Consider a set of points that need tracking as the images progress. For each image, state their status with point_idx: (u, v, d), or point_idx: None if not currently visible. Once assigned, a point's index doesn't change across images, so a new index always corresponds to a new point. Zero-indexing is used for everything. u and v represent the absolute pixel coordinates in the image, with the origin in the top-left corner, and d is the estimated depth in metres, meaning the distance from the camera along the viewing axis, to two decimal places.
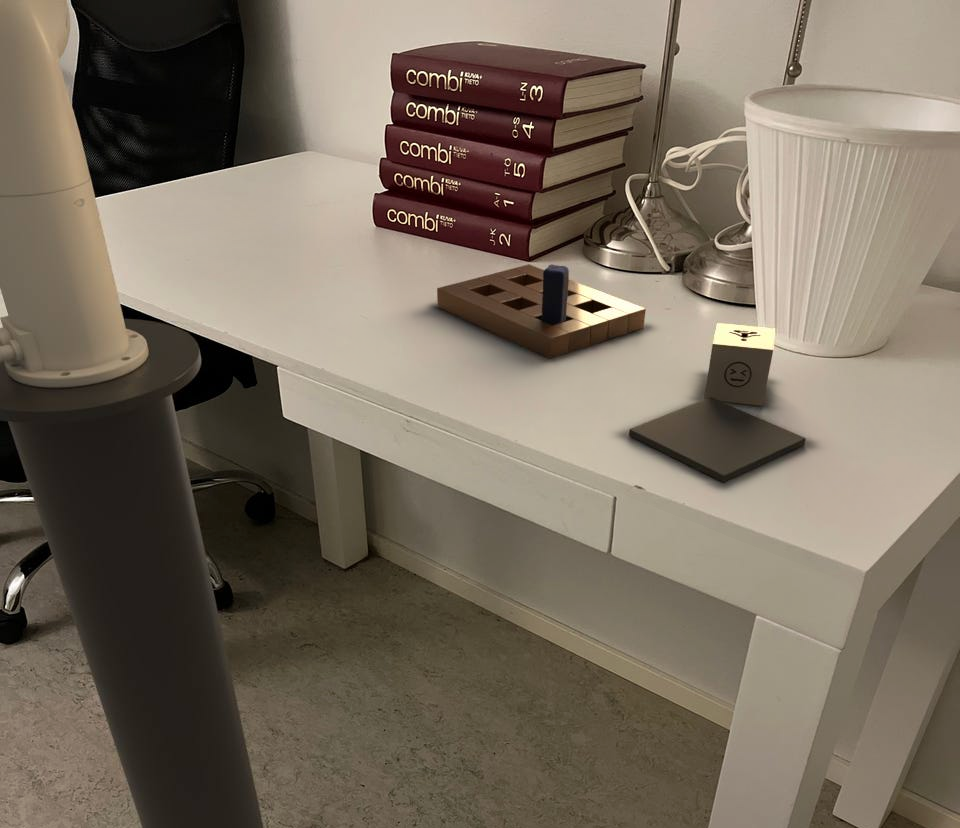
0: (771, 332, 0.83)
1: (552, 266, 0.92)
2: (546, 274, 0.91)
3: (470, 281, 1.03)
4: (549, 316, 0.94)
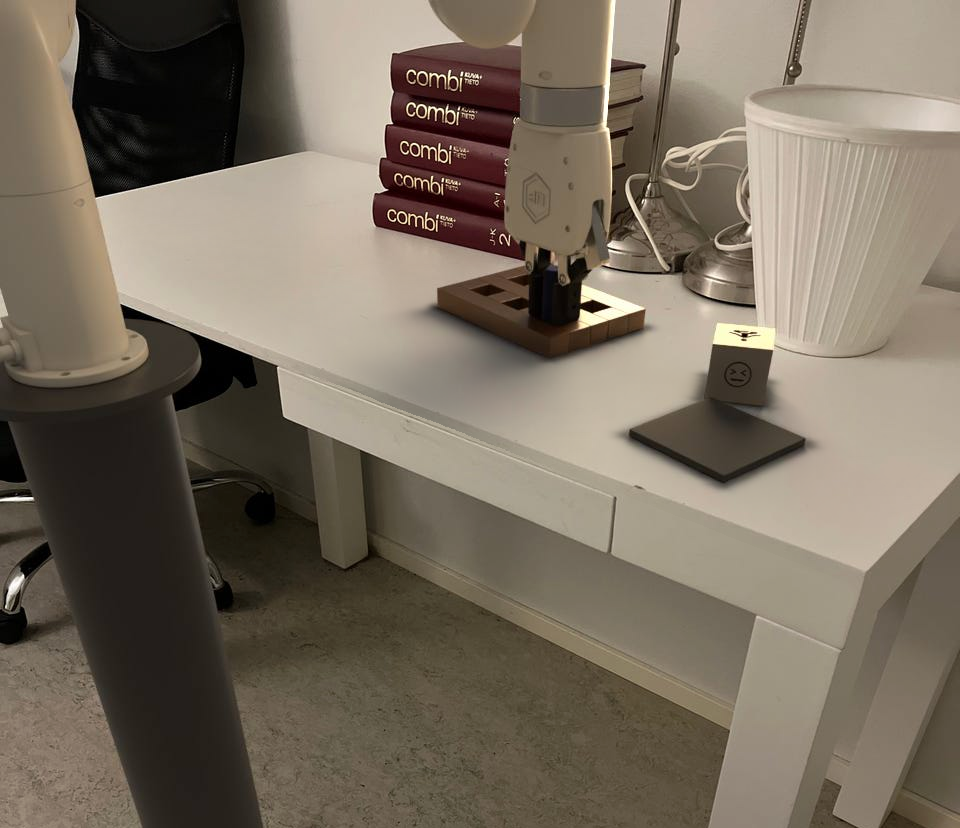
0: (771, 333, 0.83)
1: (552, 266, 0.92)
2: (546, 274, 0.91)
3: (470, 281, 1.03)
4: (549, 316, 0.94)
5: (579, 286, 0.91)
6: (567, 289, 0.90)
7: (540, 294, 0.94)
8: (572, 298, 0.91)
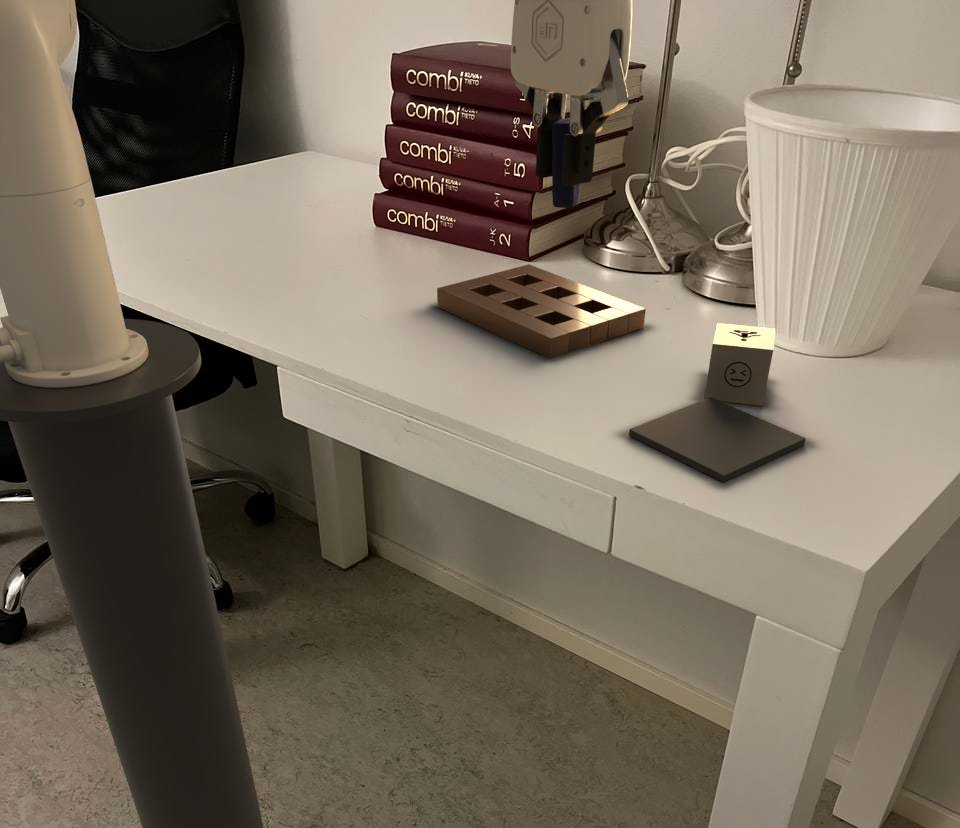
0: (771, 333, 0.83)
1: (562, 120, 0.83)
2: (555, 128, 0.83)
3: (470, 281, 1.03)
4: (560, 178, 0.85)
5: (593, 139, 0.82)
6: (579, 141, 0.82)
7: (549, 152, 0.85)
8: (585, 152, 0.82)
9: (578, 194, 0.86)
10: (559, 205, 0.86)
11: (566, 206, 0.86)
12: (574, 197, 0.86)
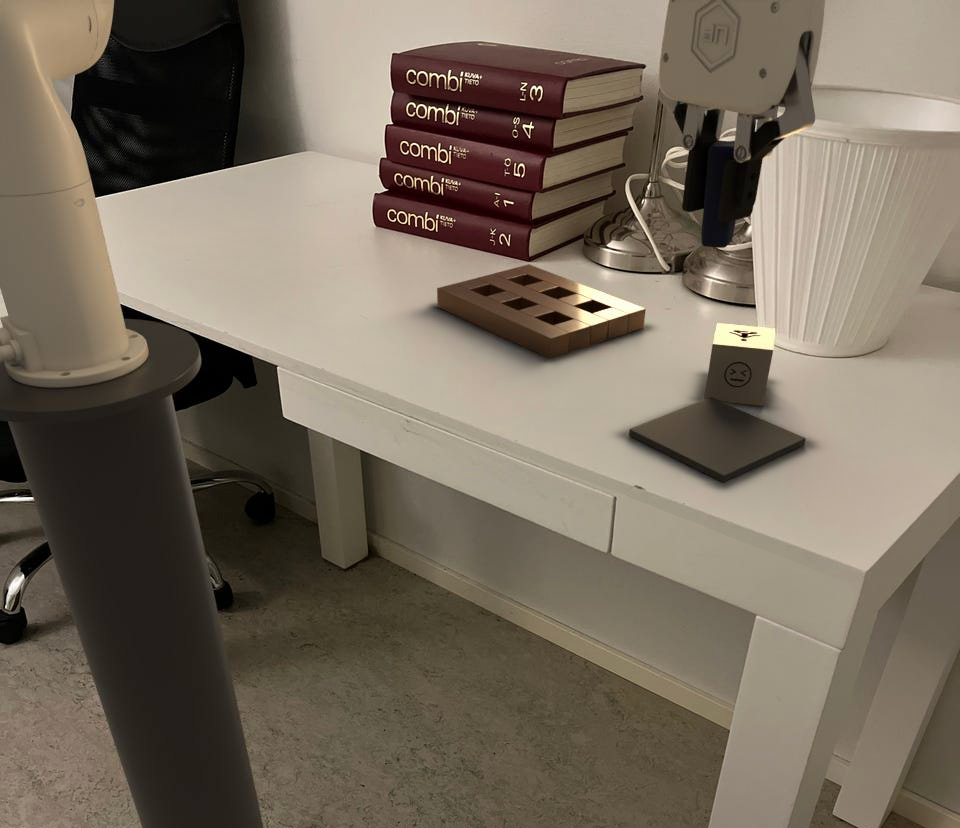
0: (771, 333, 0.83)
1: (720, 142, 0.68)
2: (712, 153, 0.68)
3: (470, 281, 1.03)
4: (714, 212, 0.70)
5: (759, 165, 0.67)
6: (745, 168, 0.66)
7: (700, 181, 0.70)
8: (749, 182, 0.67)
9: (733, 230, 0.71)
10: (710, 244, 0.71)
11: (719, 245, 0.71)
12: (729, 234, 0.71)
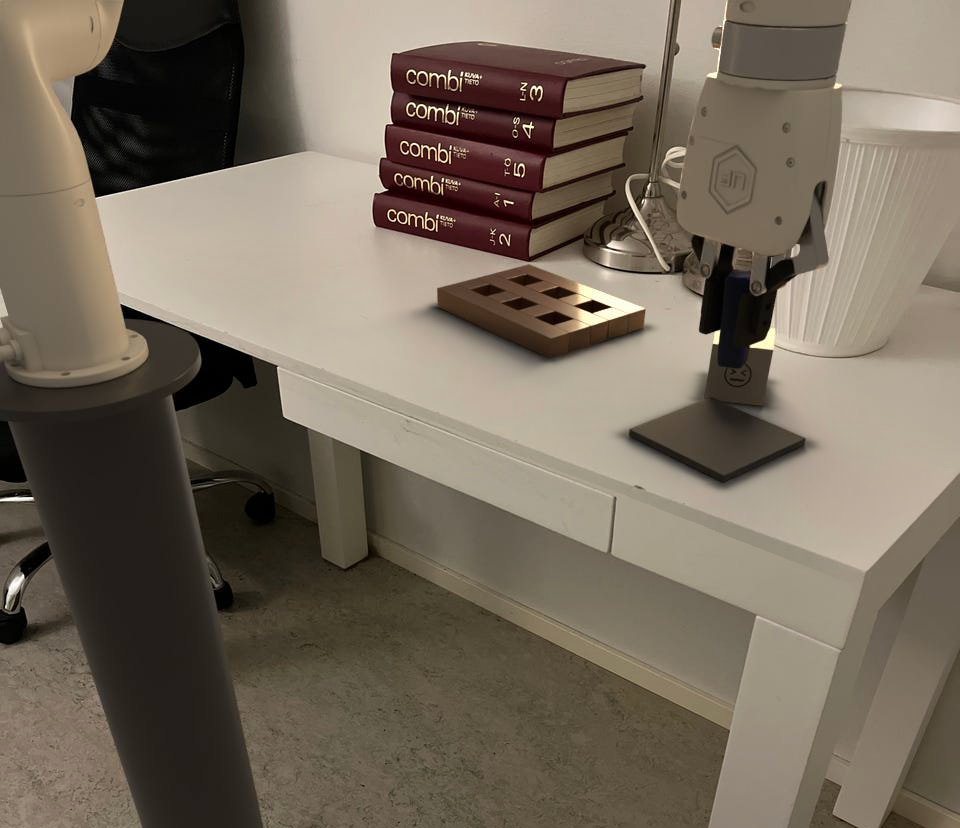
0: (771, 333, 0.83)
1: (736, 272, 0.71)
2: (729, 283, 0.70)
3: (470, 281, 1.03)
4: (730, 336, 0.72)
5: (774, 296, 0.69)
6: (760, 300, 0.69)
7: (717, 306, 0.72)
8: (764, 312, 0.70)
9: (748, 351, 0.74)
10: (726, 365, 0.74)
11: (734, 366, 0.74)
12: (744, 356, 0.73)
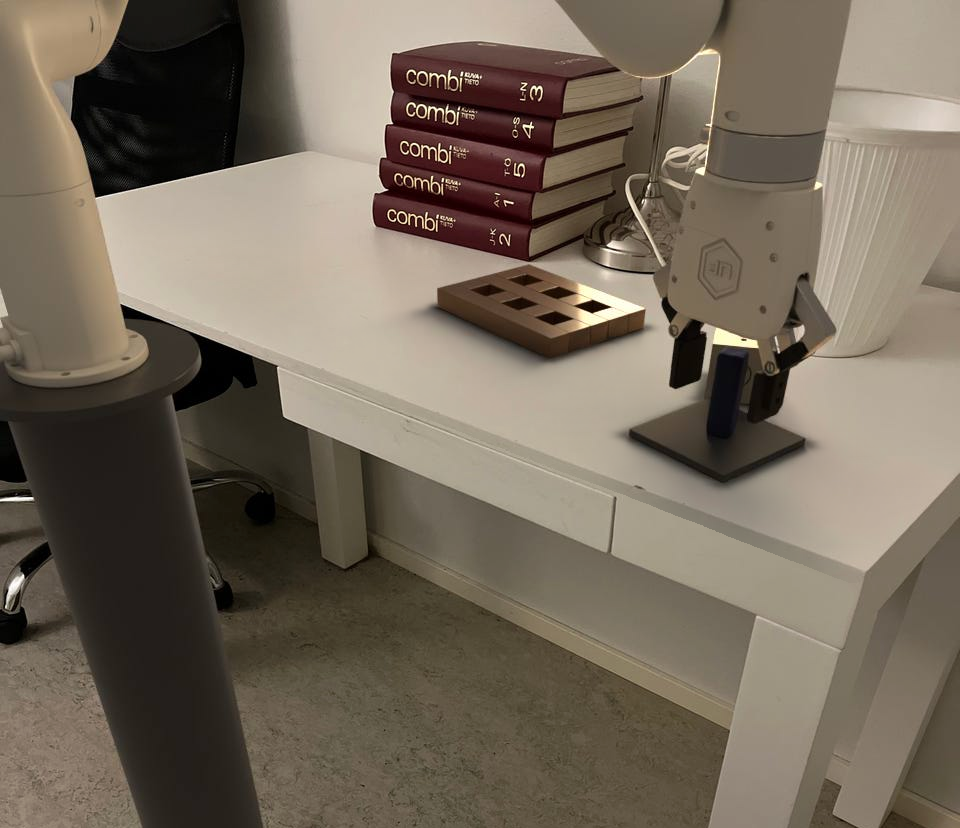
0: None
1: (729, 349, 0.74)
2: (721, 359, 0.74)
3: (470, 281, 1.03)
4: (719, 408, 0.76)
5: (787, 375, 0.71)
6: (773, 379, 0.71)
7: (685, 363, 0.77)
8: (777, 390, 0.71)
9: (735, 423, 0.78)
10: (714, 434, 0.77)
11: (722, 436, 0.77)
12: (732, 427, 0.77)
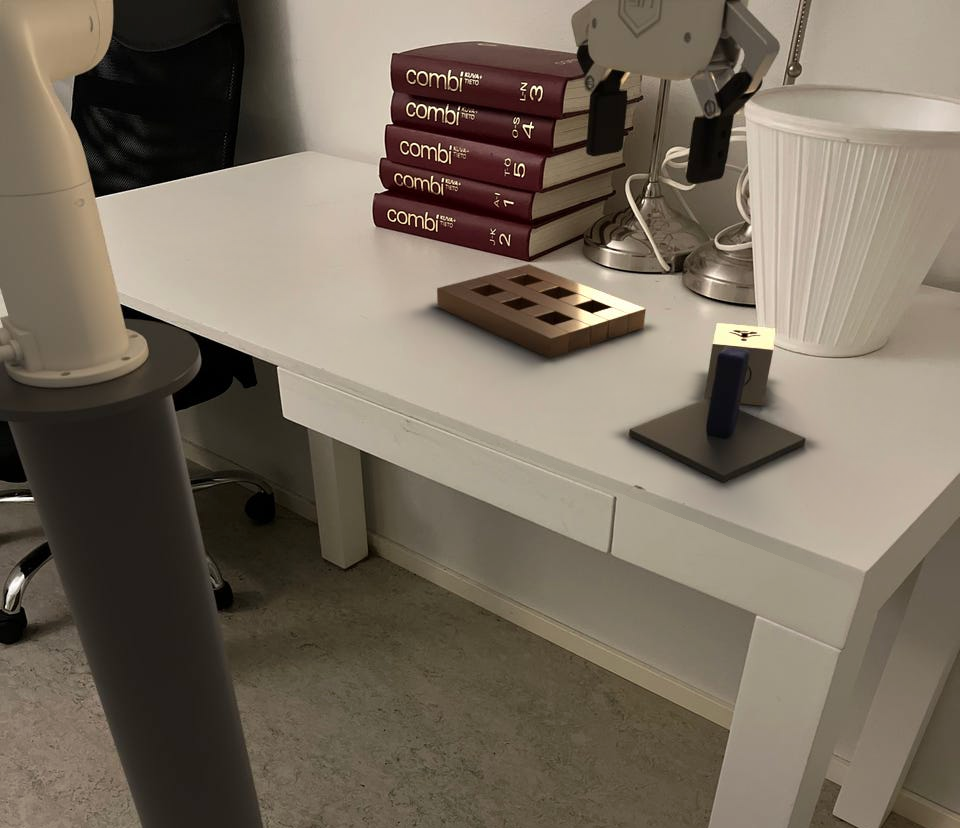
0: (771, 333, 0.83)
1: (729, 349, 0.74)
2: (721, 359, 0.74)
3: (470, 281, 1.03)
4: (719, 408, 0.76)
5: (731, 122, 0.63)
6: (714, 125, 0.62)
7: (603, 124, 0.69)
8: (720, 140, 0.63)
9: (735, 423, 0.78)
10: (714, 434, 0.77)
11: (722, 436, 0.77)
12: (732, 427, 0.77)
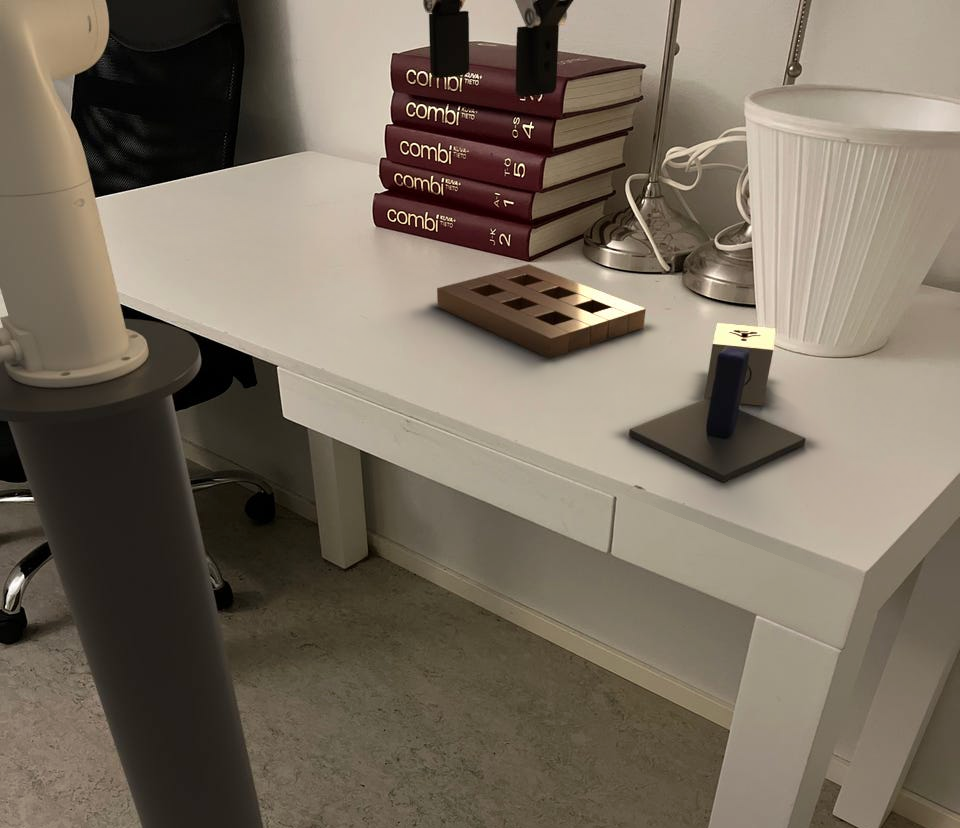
0: (771, 333, 0.83)
1: (729, 349, 0.74)
2: (721, 359, 0.74)
3: (470, 281, 1.03)
4: (719, 408, 0.76)
5: (554, 33, 0.63)
6: (537, 35, 0.63)
7: (445, 45, 0.70)
8: (544, 51, 0.64)
9: (735, 423, 0.78)
10: (714, 434, 0.77)
11: (722, 436, 0.77)
12: (732, 427, 0.77)
